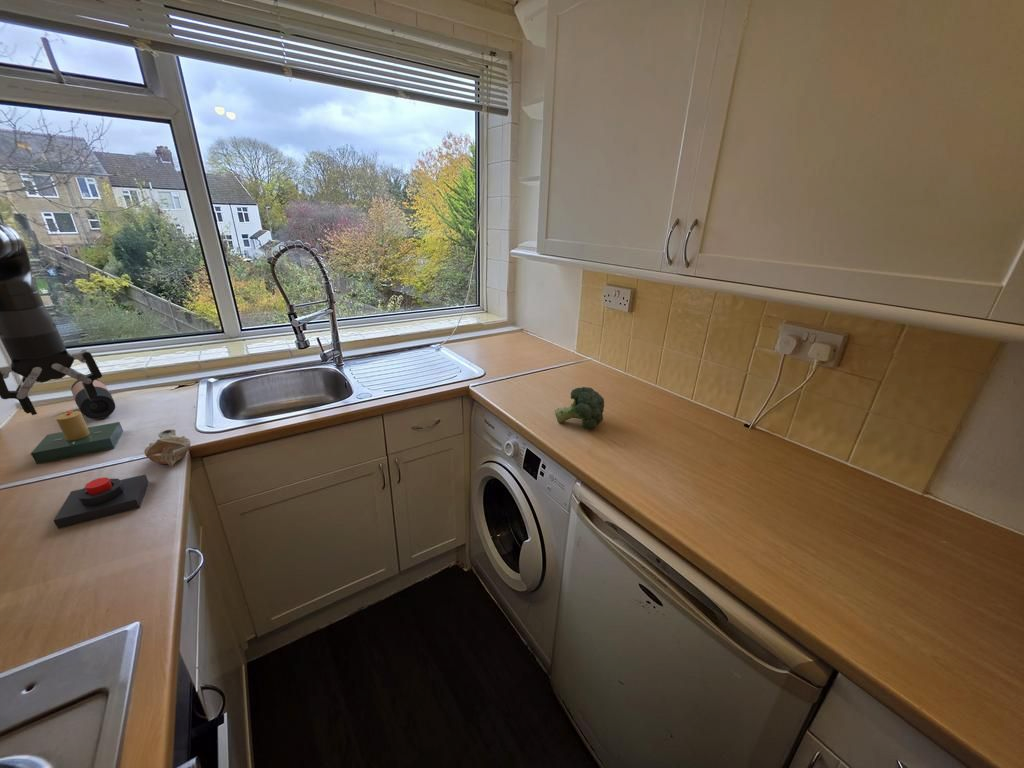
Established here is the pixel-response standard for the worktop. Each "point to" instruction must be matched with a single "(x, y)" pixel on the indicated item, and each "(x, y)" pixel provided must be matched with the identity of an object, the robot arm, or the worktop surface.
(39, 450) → the dimmer panel
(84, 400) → the travel mug
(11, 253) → the robot arm
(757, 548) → the worktop surface
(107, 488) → the light button
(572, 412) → the vegetable
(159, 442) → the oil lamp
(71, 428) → the dimmer knob
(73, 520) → the switch block
